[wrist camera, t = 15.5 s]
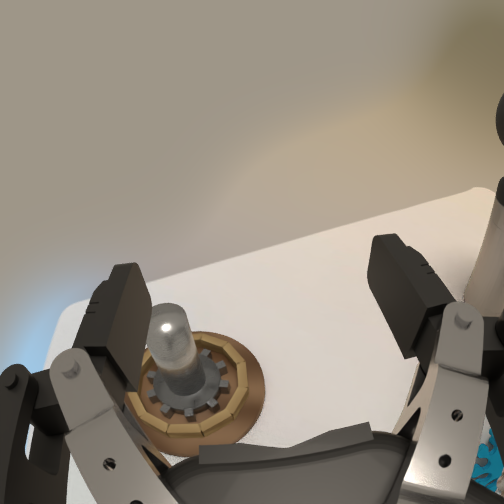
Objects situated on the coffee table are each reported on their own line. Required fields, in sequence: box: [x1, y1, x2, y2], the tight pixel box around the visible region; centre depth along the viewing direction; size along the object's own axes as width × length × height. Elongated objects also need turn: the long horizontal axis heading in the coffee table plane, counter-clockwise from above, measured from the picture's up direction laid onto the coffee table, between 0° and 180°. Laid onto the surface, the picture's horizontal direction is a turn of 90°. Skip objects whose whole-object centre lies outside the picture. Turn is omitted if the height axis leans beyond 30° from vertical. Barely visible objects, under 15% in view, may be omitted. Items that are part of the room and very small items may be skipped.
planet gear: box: [146, 303, 231, 423], centre depth 29 cm, size 9×9×11 cm
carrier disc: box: [124, 331, 265, 457], centre depth 32 cm, size 17×17×3 cm
